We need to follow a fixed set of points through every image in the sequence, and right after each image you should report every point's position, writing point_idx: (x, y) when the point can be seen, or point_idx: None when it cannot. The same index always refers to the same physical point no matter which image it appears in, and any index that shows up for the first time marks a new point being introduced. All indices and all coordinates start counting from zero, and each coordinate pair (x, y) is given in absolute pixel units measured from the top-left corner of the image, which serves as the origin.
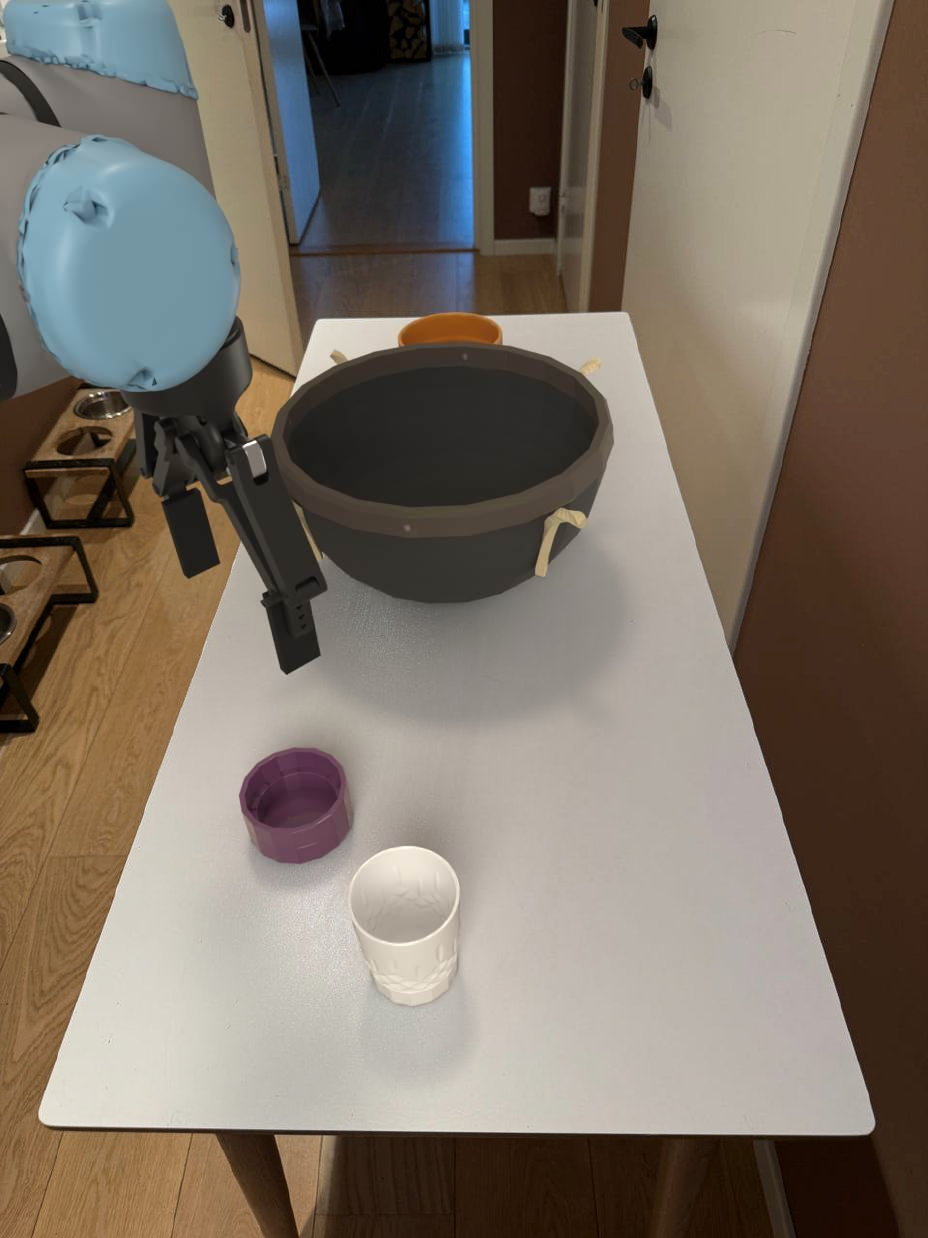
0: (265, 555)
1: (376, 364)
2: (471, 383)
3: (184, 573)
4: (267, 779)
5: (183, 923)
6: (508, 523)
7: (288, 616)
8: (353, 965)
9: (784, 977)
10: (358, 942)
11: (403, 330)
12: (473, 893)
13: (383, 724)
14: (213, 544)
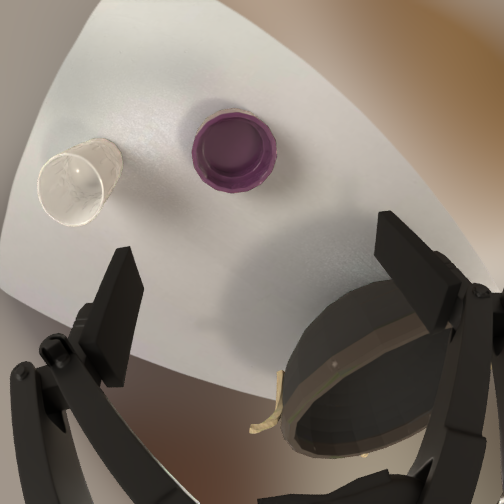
0: (38, 431)
1: None
2: (421, 404)
3: (387, 213)
4: (268, 140)
5: (205, 46)
6: (287, 403)
7: (76, 332)
8: (115, 131)
9: (40, 301)
10: (83, 145)
11: None
12: (124, 213)
13: (276, 228)
14: (388, 271)
